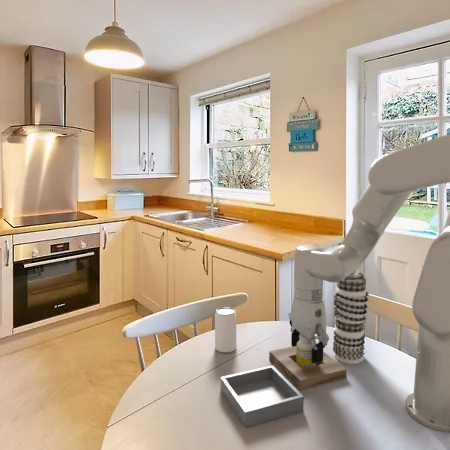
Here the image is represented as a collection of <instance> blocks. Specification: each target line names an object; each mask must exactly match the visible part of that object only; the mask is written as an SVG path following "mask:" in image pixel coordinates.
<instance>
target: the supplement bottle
mask: <svg viewBox="0 0 450 450" xmlns="http://www.w3.org/2000/svg"><path fill="white" fill-rule="evenodd" d="M314 336H315V335H314ZM314 336H313V337H314ZM299 339H300V340H299V341H298V342H297V352H296V363H297V364H298V365H299V366H300V367H301V368H302V369H303V368H307V367H312V366H316V363H314V364H313V363H312V362H311V358H312V348H313V345H312V342H311V339H308V338H307V337H306V336H304V335H303V334H301V333H300V335H299Z"/></svg>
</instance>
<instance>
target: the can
mask: <svg viewBox="0 0 450 450" xmlns="http://www.w3.org/2000/svg"><path fill="white" fill-rule="evenodd" d="M214 347H215V350H216V351H217V352H219V353H222V354H230V353H232V352H234V351H235V350H236V349H237V314H236V312H235V308H233V307H228V306H224V307H223V306H222V307H219V308H217V309H216V310H215V315H214Z"/></svg>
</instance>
